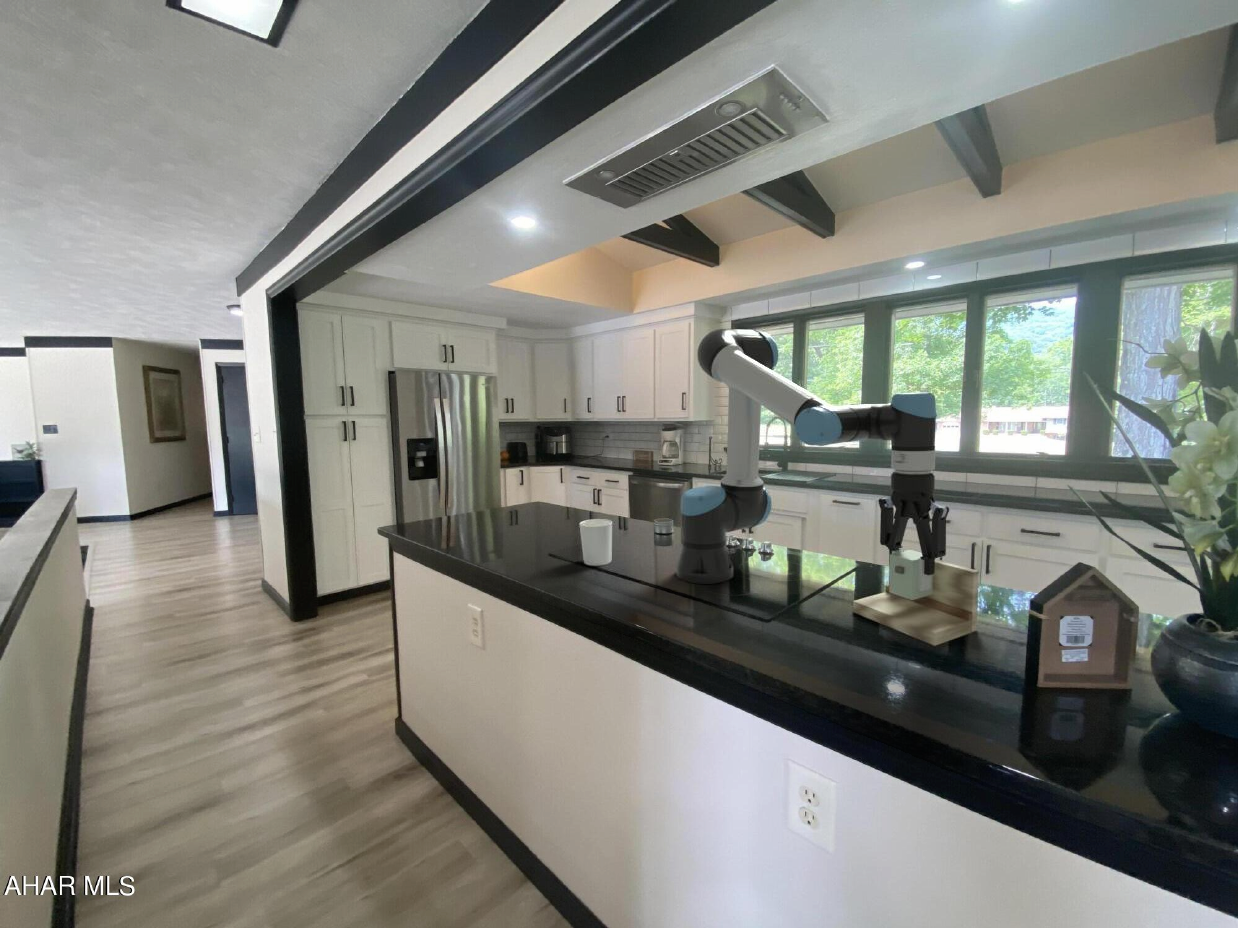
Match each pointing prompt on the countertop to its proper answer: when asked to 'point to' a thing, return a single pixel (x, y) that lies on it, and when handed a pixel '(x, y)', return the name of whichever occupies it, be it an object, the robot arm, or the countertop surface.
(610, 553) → the candle holder
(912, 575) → the cabinet block
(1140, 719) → the countertop surface
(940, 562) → the cleat board
